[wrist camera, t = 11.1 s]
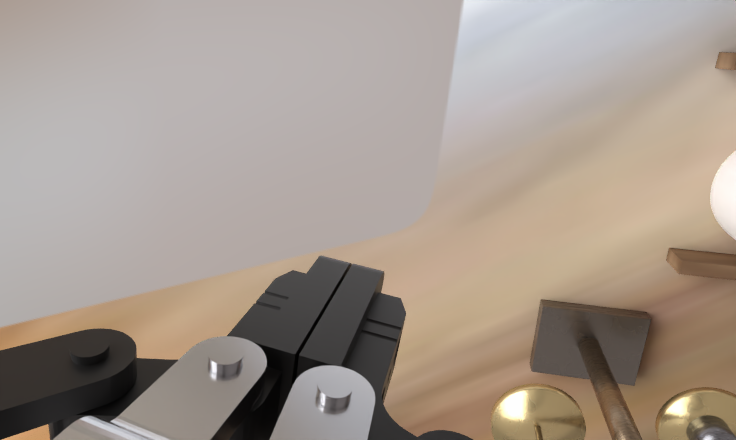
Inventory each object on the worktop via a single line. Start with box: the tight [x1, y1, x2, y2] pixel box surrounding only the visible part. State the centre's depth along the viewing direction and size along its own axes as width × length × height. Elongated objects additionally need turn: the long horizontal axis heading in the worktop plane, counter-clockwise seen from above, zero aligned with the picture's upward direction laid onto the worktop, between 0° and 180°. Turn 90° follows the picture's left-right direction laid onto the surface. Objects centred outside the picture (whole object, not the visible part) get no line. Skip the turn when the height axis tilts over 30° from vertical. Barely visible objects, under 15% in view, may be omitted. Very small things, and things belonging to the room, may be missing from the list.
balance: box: [491, 300, 736, 440], centre depth 35 cm, size 6×16×17 cm, turn 87°
